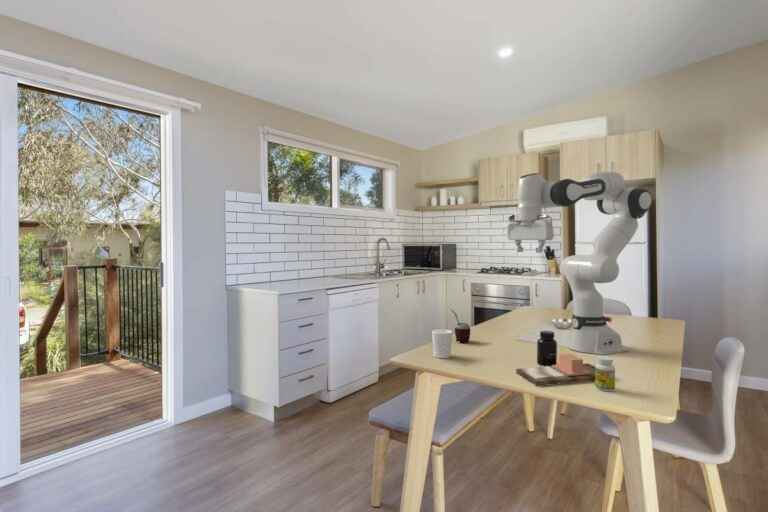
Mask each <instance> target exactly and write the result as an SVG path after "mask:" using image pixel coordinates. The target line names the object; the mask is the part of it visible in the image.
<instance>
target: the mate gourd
mask: <svg viewBox="0 0 768 512" xmlns="http://www.w3.org/2000/svg"><path fill="white" fill-rule="evenodd" d="M450 311H451V312H452V313H453V314H454V316H455V319H456V321H457V323H456V324H455V326H454V334H455V339H456V340H455V342H458V341H460V342H459V343H458V344H463V343H466V342H467V343H468V344H469V343H470V341H469V340H470V337H471V327H470V325H469V324H468V323H464V322H459V318H458V315H457V313H456V312H455V311H454V310H453V309H450ZM467 343H466V344H467Z"/></svg>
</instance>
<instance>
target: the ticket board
mask: <svg viewBox="0 0 768 512" xmlns="http://www.w3.org/2000/svg"><path fill="white" fill-rule="evenodd" d="M595 366H596V365H593V364H590V363H583V369H585V370H587V371H589V372H591V374H588V375H576V376H568V375H567V374H565V373H563V372H561V371H559V370H557V369H555V368H553V367H552V366H535V367H534V366H533V367H521V368H516V369H515V371H516V372H515V373H516V374H517V375H518V374H519V375H518V376H520V377H521V376H522V378H523V379H525V380H526V381H527V382H529V383H531V384H532V383H533V384H532V385H534V384H535V385H534V386H536V387H538V386H537V385H544V386H548V385H547V384H555V385H560V384H559V383H567V384H573V383H572V382H579V383H587V381H590V382H595Z"/></svg>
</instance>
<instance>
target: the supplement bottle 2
mask: <svg viewBox="0 0 768 512" xmlns="http://www.w3.org/2000/svg"><path fill="white" fill-rule="evenodd" d="M597 362H598V363H596V364H595V365H594V366H595V381H594V383H595V386H594V387H595V388H596V390H598V391H600V392H607V393H608V392H610V393H612V392H614V391H615V390H616V367H615V366H614V365H613V364H614V362H613V358H611V357H609V356H598V357H597Z"/></svg>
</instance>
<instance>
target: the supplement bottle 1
mask: <svg viewBox="0 0 768 512" xmlns="http://www.w3.org/2000/svg"><path fill="white" fill-rule="evenodd" d="M539 333H540V334H539V337H540V338H538V339H537V342H536V343H537V344H536V362H537V363H536V364H537V365H539V364H540V366H542V365H543V366H542V367H545V366H552V365H558V362H557V361H558V360H557V358H558V342H557V340H556V339H554V338H555V332H554V331H552V330H551V331H550V330H541V331H540V332H539Z"/></svg>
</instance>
